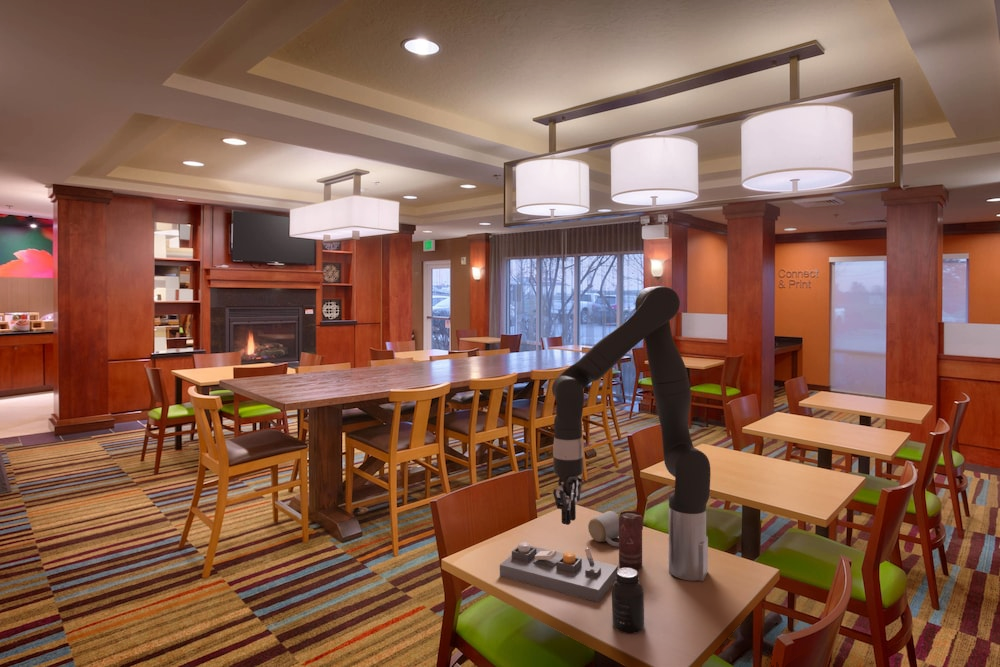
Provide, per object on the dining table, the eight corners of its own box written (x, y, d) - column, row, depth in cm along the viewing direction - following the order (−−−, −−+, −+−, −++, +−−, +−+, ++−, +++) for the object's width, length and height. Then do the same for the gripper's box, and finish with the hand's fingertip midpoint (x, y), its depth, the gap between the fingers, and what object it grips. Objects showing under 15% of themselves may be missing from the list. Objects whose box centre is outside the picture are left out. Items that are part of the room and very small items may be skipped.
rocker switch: (556, 554, 147) (555, 550, 147) (551, 559, 144) (550, 555, 144) (540, 554, 149) (539, 550, 149) (535, 559, 146) (534, 555, 146)
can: (643, 571, 147) (643, 519, 146) (619, 569, 148) (618, 517, 147) (642, 561, 153) (642, 511, 152) (618, 559, 154) (618, 509, 153)
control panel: (617, 577, 144) (617, 558, 144) (598, 602, 132) (598, 581, 132) (525, 555, 158) (524, 537, 157) (499, 575, 146) (499, 557, 145)
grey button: (532, 550, 150) (532, 543, 150) (526, 555, 147) (526, 548, 147) (521, 548, 152) (521, 541, 152) (516, 552, 149) (515, 545, 149)
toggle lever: (595, 565, 140) (589, 546, 141) (594, 567, 139) (587, 548, 140) (591, 566, 141) (585, 547, 141) (589, 568, 140) (583, 549, 140)
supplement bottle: (621, 613, 127) (620, 561, 126) (649, 624, 123) (649, 570, 122) (606, 627, 122) (606, 573, 121) (635, 638, 117) (635, 582, 117)
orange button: (577, 560, 144) (577, 554, 144) (572, 566, 141) (572, 559, 141) (565, 558, 145) (565, 551, 145) (560, 563, 143) (560, 556, 142)
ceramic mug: (586, 538, 168) (586, 513, 168) (604, 531, 173) (604, 507, 173) (613, 551, 160) (613, 525, 159) (631, 543, 165) (632, 518, 164)
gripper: (570, 463, 134) (571, 534, 135) (592, 450, 146) (592, 515, 147) (542, 459, 138) (543, 528, 138) (565, 446, 150) (566, 510, 151)
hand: (568, 521), depth 143 cm, fingers closed
